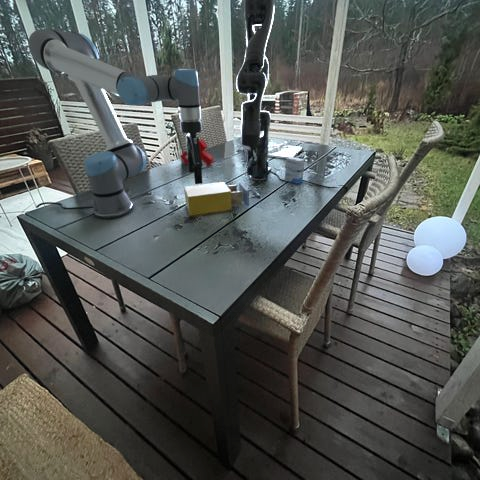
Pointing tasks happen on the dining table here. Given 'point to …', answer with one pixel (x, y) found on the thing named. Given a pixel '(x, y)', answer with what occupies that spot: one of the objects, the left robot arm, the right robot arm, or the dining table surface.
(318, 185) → the right robot arm
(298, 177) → the ink box
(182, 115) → the left robot arm
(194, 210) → the yellow rectangular box
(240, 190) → the drawer
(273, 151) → the relief map
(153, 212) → the dining table surface
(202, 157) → the toy gun
